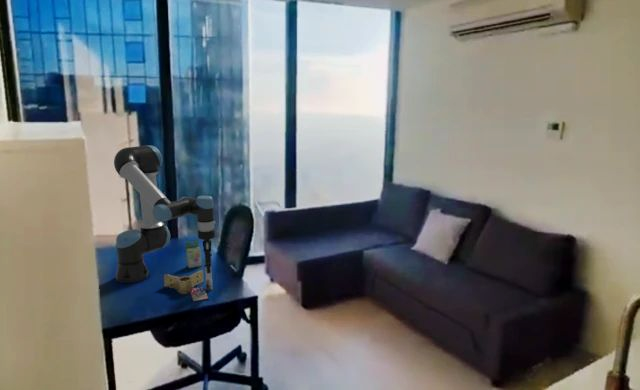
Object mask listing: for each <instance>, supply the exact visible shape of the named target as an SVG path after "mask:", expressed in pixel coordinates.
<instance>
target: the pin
mask: <svg viewBox="0 0 640 390" xmlns="http://www.w3.org/2000/svg"><path fill="white" fill-rule="evenodd" d="M204 261H205V258H204ZM208 264H210V263H208ZM204 265H206V264H205V263H204ZM211 268H212V269H213V267H212V266H211ZM204 275H205V290H206V291H212V290H213V288H214V287H213V278H212V279H207V280H206V270H205V269H204Z"/></svg>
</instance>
